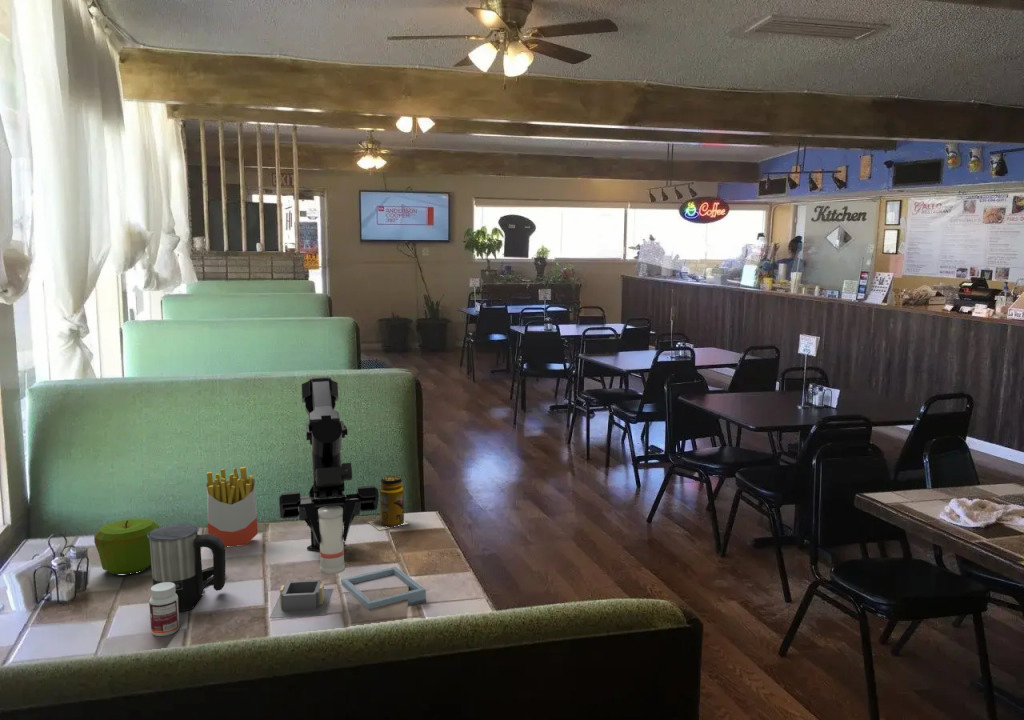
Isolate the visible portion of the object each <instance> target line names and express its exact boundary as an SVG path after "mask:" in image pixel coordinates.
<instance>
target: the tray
mask: <svg viewBox="0 0 1024 720" xmlns="http://www.w3.org/2000/svg"><path fill="white" fill-rule="evenodd" d="M391 575H394V576H395V577H397V579H399V580H400V581H402V582H403V583H404V584H406V585H407V586H408V591H405V592H401V593H397V594H393V595H389V596H386V597H380V598H376V599H373V600H371V599H370V598H369V597H368V596H366V595H365V594H364V593H363V592H362V591H361V590H360V589H359V588H357V587H356V586H355V585H354V584H358V583H361V582H366V581H370V580H375V579H378V578H382V577H386V576H391ZM340 585H341V586H343V587H344V588H345V589H346V590H347V591H348V592H349V593H350V594H351V596H353V597H354V598H355V599H356V600H357V601H359V603H361V604H362V605H363V606H364V607H365V608H366V609H367V610H372V609H375V608H379V607H383V606H386V605H390V604H395V603H397V602H402V601H405V600H407V607H411V606H414V605H419V604H421V603H426V602H427V589H426V588H424V586H423V585H421V584H419V583H418V582H417V581H415V580H414V579H413V578H411V577H410V576H409V575H408V574H406V573H405V572H403V571H402V570H401V569H399V568H398V567H397V566H393V567H388V568H384V569H380V570H376V571H371V572H367V573H364V574H359V575H354V576H349V577H345V578H342V579H341V580H340Z"/></svg>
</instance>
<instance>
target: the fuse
mask: <svg viewBox="0 0 1024 720" xmlns="http://www.w3.org/2000/svg"><path fill="white" fill-rule="evenodd" d="M318 517H319V532H320V551H319V557H320V563H319V571H320V573H321V574H324V575H336V574H341V573H343V572H344V571H345V569H346V564H345V548H344V547H345V546H344V545H345V544H343V542H344V539H343V530H344V523H343V508H342V507H341V506H325V507H321V508H319V509H318Z"/></svg>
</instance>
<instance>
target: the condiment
mask: <svg viewBox="0 0 1024 720" xmlns="http://www.w3.org/2000/svg"><path fill="white" fill-rule="evenodd" d="M402 480H403V479H402V477H401V476H398V475H386V476H383V477H382V478H381V479H380V482H381V483H380V488H379V513H380V515H379V518H380V519H377V520H370V521H368V523H369V524H370V525H371V526H372V527H373V528H376V529H377V530H379V531H383V530H387V529H388V530H389V528H388V527H391V528H390V529H392V528H393V527H394V526H398V525H401V524H403V523H404V521H405V507H404V505H405V504H404V503H405V501H404V488H403V484H402V483H403V481H402ZM384 526H387V528H384ZM382 527H383V528H382ZM394 528H395V527H394Z"/></svg>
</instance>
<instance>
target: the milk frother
mask: <svg viewBox="0 0 1024 720" xmlns="http://www.w3.org/2000/svg"><path fill="white" fill-rule="evenodd" d="M199 527H200V526H198V525H195V524H192V523H177V524H169V525H165V526H161V527H159V528H158V529H155V530H153V531H151V532H149V533H148V534H147V537H148V538H149V540H150V552H151V565H150V566H151V574H152V586H154V585H156V584H158V583H163V582H172V583H174V584H175V589H176V592H175V593H176V594H177V595H178V604H179V613H181V612H186V611H190V610H192V609H194V608H196V606H197V605H198V604H199V602H200V601H201V600H202V598H203V594H204V591H205V589H206V588H208V587H209V586H210V585H212V584H213V587H212V588H213V589H214V590H215V591H217V592H218V591H222V589H224V587H225V584H226V562H227V560H226V547H225V545H224V543H223V542H222V540H221V539H220V538H218V537H217V536H214V535H210V534H208V533H207V534H198V531H199V530H200V528H199ZM202 548H208V549H209V550H211V552H212V563H213V564H212V565H213V566H210V567H208V568H207V567H206V568H205V569H203V566H202V565H203V564H202V551H201V549H202Z"/></svg>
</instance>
